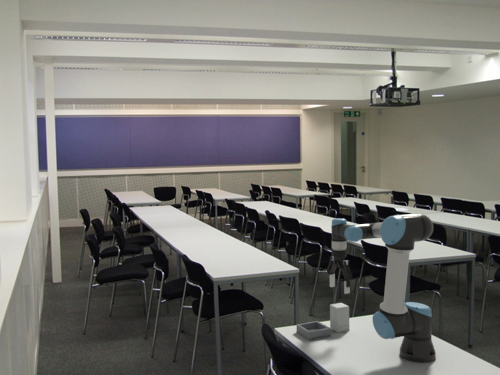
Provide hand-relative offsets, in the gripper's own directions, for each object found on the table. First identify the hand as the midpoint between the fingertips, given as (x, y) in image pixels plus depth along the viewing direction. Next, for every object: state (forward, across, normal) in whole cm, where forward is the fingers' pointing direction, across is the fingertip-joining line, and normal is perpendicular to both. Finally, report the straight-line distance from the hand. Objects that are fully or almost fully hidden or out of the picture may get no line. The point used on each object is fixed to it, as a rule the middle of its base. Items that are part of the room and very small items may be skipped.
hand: (339, 290), depth 252 cm
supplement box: (+21, 0, 0) cm, 21 cm away
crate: (+20, 0, +16) cm, 26 cm away
